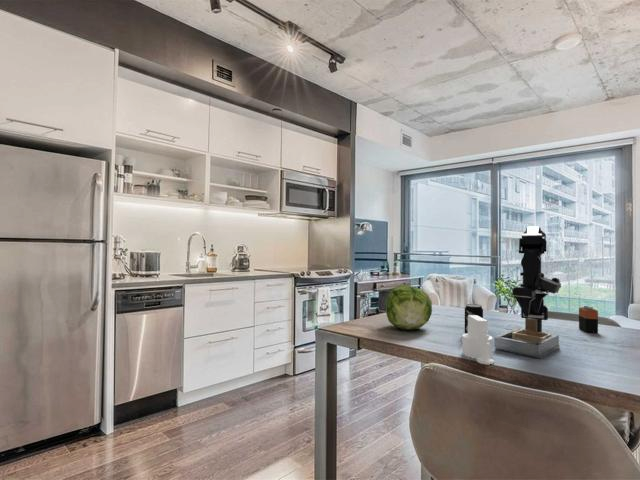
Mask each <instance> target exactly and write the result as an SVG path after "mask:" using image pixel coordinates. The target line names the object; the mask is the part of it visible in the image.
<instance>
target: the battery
mask: <svg viewBox="0 0 640 480" xmlns="http://www.w3.org/2000/svg"><path fill="white" fill-rule="evenodd" d="M578 329H579V330H580V331H582V332H583V333H584V332H585V333H588V334H590V333H591V334H598V333H599V311H598V310H597V309H595V308H594V307H592V306H588V305H584V306H583V307H578Z"/></svg>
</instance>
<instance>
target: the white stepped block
mask: <svg viewBox="0 0 640 480" xmlns="http://www.w3.org/2000/svg"><path fill="white" fill-rule="evenodd" d="M485 329H487V330H488V320H487V319H485V318H484V317H483V318H481V317H479V316H477V315H468V333H466V334H465V333H463V334H462V346H461V347H462V351H461V352H462V353H463V354H464V355H465V356H464V355H463V354H462V355H463V356H464V357H466V356H468V357H467V358H469V357H473V358H479V357H482V355H483V349H484V345H483V344H482V342H484V340H483V337H482V335H484V334H485V333H483V331H485ZM487 342H488V343H489V345H487V347H488V355H489V357H490V358H491V357H492V358H493V336H491V335H489V339H488V341H487ZM473 358H472V359H473ZM492 358H491V359H492Z"/></svg>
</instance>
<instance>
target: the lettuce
mask: <svg viewBox="0 0 640 480" xmlns="http://www.w3.org/2000/svg"><path fill="white" fill-rule="evenodd" d="M432 305H433V304H432V301H431V299H430V297H429V295H428V294H427V293H426V292H424V291H423V290H422V289H420V288H418V287H415V286H411V285H406V284H404V285H401V284H399V285H397V286H395V287H392V289H391V290H390V291H389V293H388V294H387V297H386V300H385V310H384V311H385V314H386V317H387V319H388V322H389V323H390V324H391V325H392V326H394V327H395V328H397V329H402V330H405V331H406V330H409V331H411V330H416V329H419V328H422V327H423V326H425V325H426V324H427V323H428V322H429V320H430V318H431V317H432V314H433V306H432Z"/></svg>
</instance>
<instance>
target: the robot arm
mask: <svg viewBox="0 0 640 480" xmlns="http://www.w3.org/2000/svg"><path fill="white" fill-rule="evenodd" d="M541 229H542V228H541V226H537V225H533V226H530V225H529V226H527V227H526V228H525V231H524V232H523V233H522V234H521V236H519V239H518V254H523V256H522V258H521V260H520V265H521V268H522V272H520V277H521V276H522V283H520V285H519V286H515V287H513V288H512V290H511V291H512V292H511V295H512V296H513V297H514V298H515V301H517V304H518V305H519V307H520V310H521V311H520V317H521V319H525V321H524V322H525V323H524V325H525V326H524V330H526V318H532V319H537V332H541V333H545V332H544V331H543V321H548V320H549V318H548V317H549V308H548V307H547V305H546V304H545V303H544V298H545V297H547V296H548V295H549V293H551V294H553V295H554V294H558V293H559V290H560V288H562V283H561V281H560V279H559V278H557V277H552V278H551V279H550V278H546V277H545V274H544V272H542V255H543V254H545V253H547V234H546V233H545V232H544V231H543V230H541Z"/></svg>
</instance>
